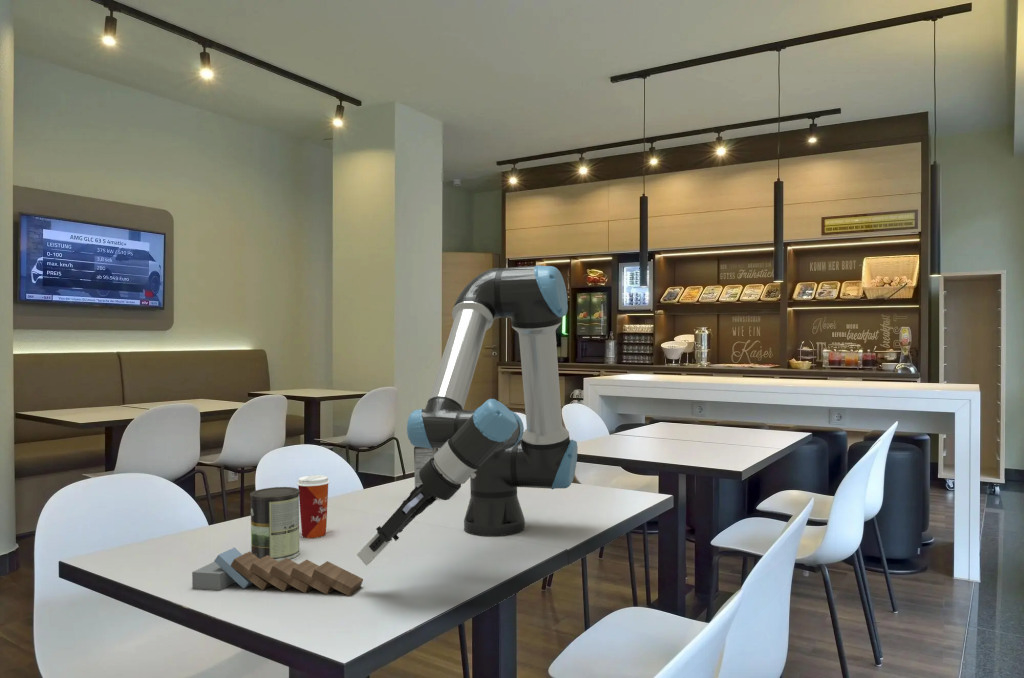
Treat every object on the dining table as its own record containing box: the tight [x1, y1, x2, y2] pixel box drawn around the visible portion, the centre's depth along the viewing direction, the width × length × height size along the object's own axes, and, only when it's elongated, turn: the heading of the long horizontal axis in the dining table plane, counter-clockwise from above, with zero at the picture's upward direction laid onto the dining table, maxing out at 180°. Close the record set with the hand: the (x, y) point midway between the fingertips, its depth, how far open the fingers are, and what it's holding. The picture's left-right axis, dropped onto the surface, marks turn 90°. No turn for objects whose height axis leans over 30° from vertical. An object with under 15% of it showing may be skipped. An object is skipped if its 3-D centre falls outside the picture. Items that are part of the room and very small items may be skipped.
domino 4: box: [270, 558, 314, 594], centre depth 132 cm, size 2×5×8 cm
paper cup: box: [296, 474, 331, 539], centre depth 170 cm, size 8×8×14 cm
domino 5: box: [290, 559, 335, 595], centre depth 131 cm, size 2×5×8 cm
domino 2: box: [231, 551, 273, 591], centre depth 134 cm, size 2×5×8 cm
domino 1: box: [213, 547, 254, 589], centre depth 135 cm, size 2×5×8 cm
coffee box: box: [413, 446, 439, 500], centre depth 211 cm, size 9×6×16 cm
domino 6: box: [312, 561, 364, 597], centre depth 131 cm, size 2×5×8 cm
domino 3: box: [250, 555, 293, 593], centre depth 133 cm, size 2×5×8 cm
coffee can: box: [249, 486, 301, 562], centre depth 153 cm, size 10×10×14 cm
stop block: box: [191, 561, 237, 591], centre depth 136 cm, size 6×8×3 cm
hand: (363, 559), depth 129 cm, fingers closed
